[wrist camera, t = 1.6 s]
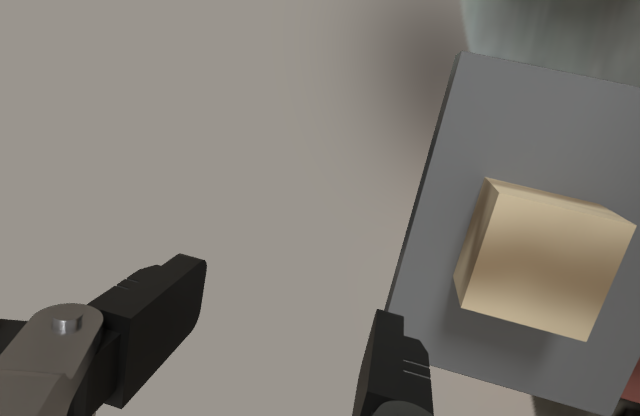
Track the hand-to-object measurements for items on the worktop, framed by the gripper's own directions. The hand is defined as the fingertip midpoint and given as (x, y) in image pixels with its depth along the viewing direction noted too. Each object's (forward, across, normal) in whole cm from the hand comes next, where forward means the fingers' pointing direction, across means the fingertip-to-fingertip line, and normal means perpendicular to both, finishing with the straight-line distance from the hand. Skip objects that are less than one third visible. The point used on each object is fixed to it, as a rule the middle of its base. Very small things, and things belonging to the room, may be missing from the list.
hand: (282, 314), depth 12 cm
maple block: (+14, -10, 0) cm, 18 cm away
